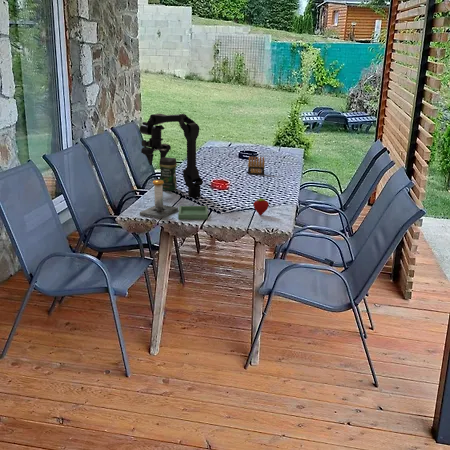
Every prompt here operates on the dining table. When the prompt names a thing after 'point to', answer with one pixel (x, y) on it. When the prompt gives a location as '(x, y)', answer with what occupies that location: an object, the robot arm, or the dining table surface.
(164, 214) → the plate
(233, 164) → the dining table surface
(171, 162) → the coffee jar
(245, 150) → the dining table surface
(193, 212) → the parts tray
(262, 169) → the ammunition clip
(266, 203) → the strawberry
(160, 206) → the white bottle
